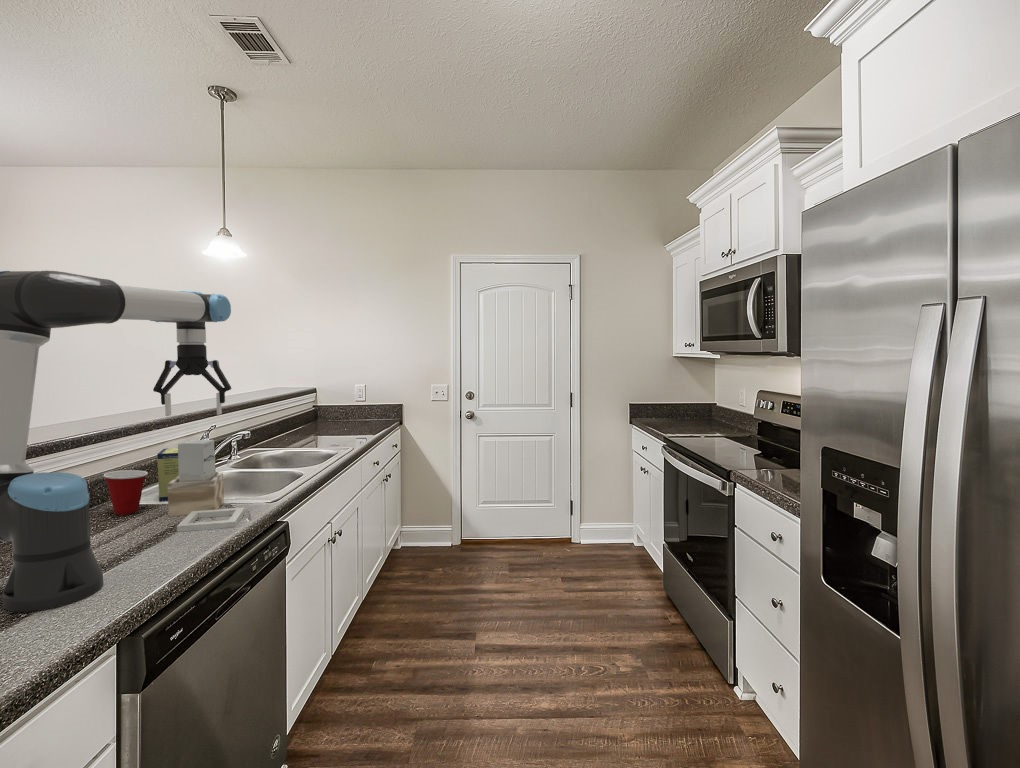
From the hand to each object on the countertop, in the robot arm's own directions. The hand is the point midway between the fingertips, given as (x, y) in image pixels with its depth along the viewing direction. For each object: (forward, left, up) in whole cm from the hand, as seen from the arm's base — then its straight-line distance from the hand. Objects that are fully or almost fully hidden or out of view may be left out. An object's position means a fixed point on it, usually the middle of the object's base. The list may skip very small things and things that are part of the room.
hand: (194, 415), depth 162 cm
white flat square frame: (-15, -8, -29) cm, 33 cm away
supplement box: (0, 0, -21) cm, 21 cm away
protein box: (+18, +7, -29) cm, 35 cm away
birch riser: (0, 0, -29) cm, 29 cm away
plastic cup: (+2, +19, -29) cm, 35 cm away
